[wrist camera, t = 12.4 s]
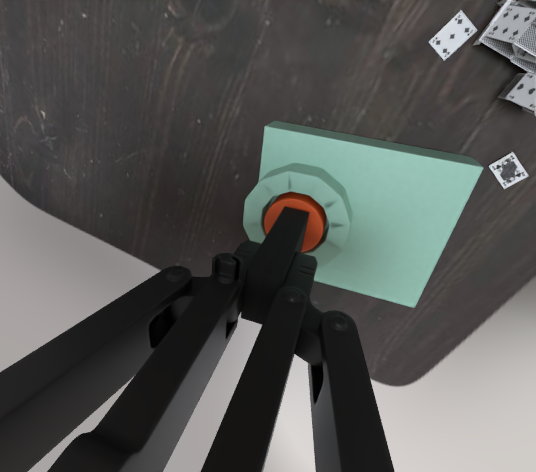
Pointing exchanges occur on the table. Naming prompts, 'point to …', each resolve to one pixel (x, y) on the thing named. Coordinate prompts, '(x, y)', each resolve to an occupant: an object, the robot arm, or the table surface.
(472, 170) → the button box
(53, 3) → the table surface
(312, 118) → the table surface
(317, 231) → the button
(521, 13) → the house of cards
